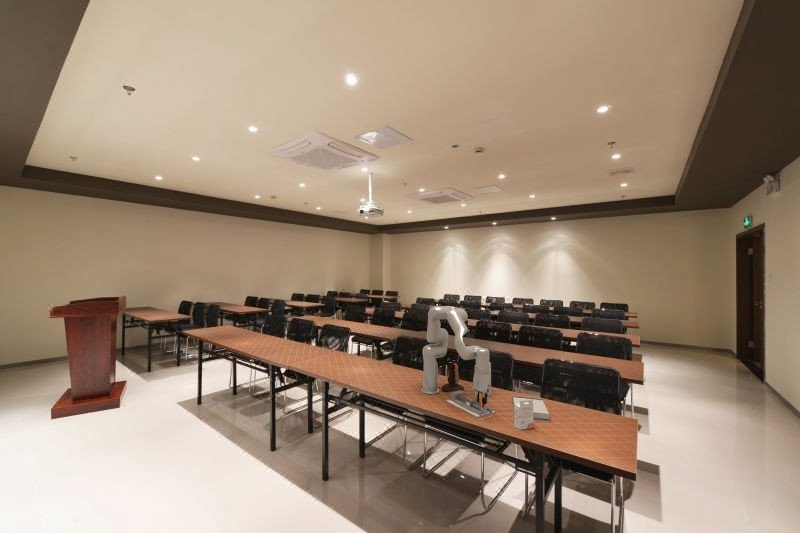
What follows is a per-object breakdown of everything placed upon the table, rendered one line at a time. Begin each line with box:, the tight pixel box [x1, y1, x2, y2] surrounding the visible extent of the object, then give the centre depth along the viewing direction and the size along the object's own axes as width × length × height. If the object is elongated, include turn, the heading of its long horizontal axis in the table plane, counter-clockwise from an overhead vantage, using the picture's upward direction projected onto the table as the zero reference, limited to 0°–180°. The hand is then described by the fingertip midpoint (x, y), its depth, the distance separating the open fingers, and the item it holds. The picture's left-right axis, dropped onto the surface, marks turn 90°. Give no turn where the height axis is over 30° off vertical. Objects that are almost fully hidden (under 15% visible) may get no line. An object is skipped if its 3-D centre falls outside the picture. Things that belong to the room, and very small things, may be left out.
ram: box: [469, 391, 489, 413], centre depth 195 cm, size 9×6×11 cm
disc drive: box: [512, 396, 550, 423], centre depth 198 cm, size 18×22×5 cm
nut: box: [460, 395, 468, 403], centre depth 206 cm, size 4×4×4 cm
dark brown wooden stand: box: [441, 360, 465, 393], centre depth 233 cm, size 15×15×20 cm
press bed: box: [446, 390, 496, 420], centre depth 201 cm, size 27×14×6 cm, turn 31°
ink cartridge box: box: [513, 400, 534, 431], centre depth 177 cm, size 9×5×15 cm, turn 106°
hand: (481, 402), depth 193 cm, fingers closed on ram, 3 cm apart
